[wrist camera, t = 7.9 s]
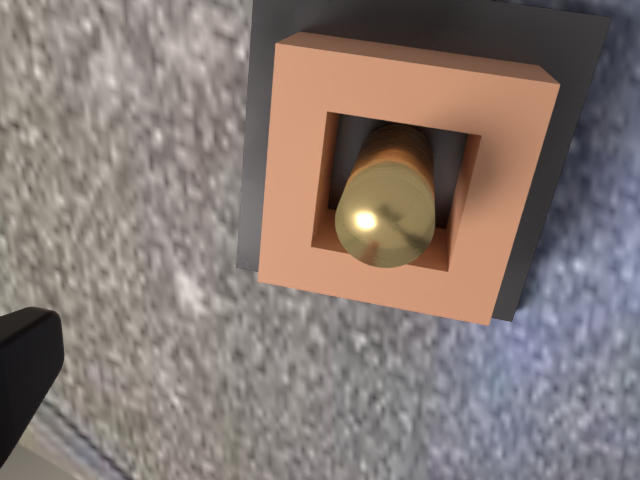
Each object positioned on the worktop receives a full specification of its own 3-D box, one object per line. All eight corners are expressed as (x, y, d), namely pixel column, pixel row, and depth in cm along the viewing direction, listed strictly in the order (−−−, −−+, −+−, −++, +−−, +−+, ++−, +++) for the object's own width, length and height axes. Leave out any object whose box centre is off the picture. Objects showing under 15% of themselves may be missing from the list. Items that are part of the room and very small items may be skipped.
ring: (539, 65, 16) (560, 84, 14) (480, 276, 19) (489, 325, 17) (299, 31, 17) (275, 43, 14) (280, 240, 20) (257, 281, 17)
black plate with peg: (605, 15, 16) (685, 37, 11) (509, 312, 20) (535, 423, 15) (260, -32, 17) (190, -33, 12) (241, 260, 21) (183, 348, 16)
